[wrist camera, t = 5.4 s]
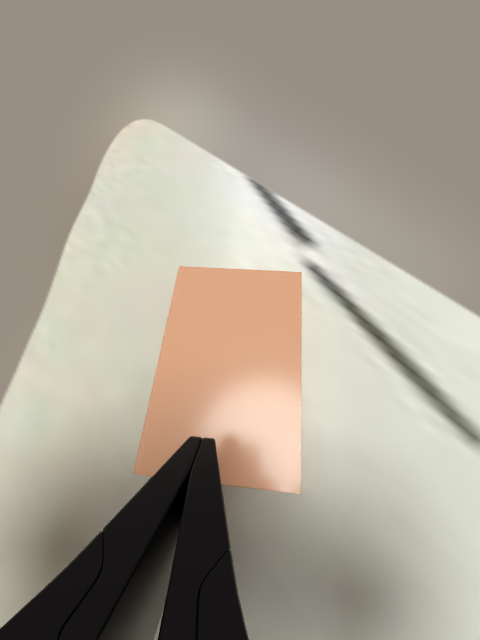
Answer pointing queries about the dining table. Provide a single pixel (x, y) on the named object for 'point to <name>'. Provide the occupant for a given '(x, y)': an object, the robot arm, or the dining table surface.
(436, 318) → the dining table surface
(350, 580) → the dining table surface
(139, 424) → the dining table surface
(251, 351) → the glazed tile
